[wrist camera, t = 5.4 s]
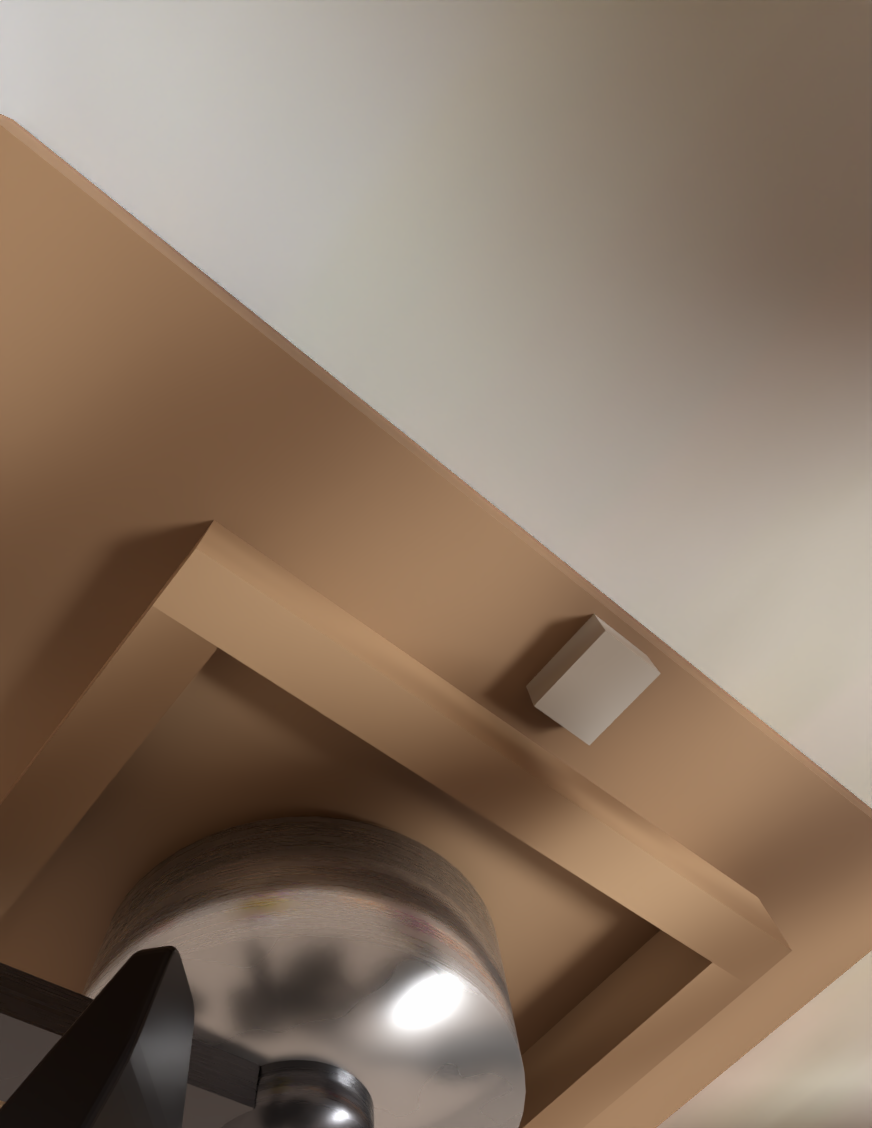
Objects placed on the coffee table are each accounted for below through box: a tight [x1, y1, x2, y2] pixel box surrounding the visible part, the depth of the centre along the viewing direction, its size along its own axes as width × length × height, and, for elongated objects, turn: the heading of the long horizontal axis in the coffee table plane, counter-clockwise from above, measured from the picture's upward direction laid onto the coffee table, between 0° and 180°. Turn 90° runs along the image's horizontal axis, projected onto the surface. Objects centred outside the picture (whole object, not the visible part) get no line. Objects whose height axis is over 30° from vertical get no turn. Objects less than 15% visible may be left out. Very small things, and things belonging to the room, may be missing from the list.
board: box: [0, 114, 872, 1128], centre depth 13 cm, size 20×15×2 cm
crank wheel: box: [0, 816, 526, 1128], centre depth 10 cm, size 10×7×6 cm, turn 54°
